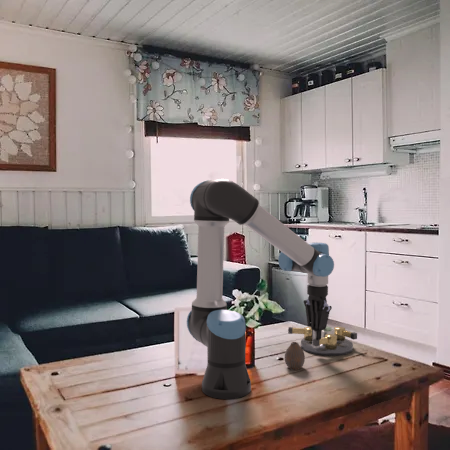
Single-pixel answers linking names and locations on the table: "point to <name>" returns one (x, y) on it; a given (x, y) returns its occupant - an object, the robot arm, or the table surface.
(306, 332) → the knob
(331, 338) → the knob
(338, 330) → the brass elongated piece
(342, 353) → the levelling base
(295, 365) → the brown egg-shaped piece
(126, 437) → the table surface
